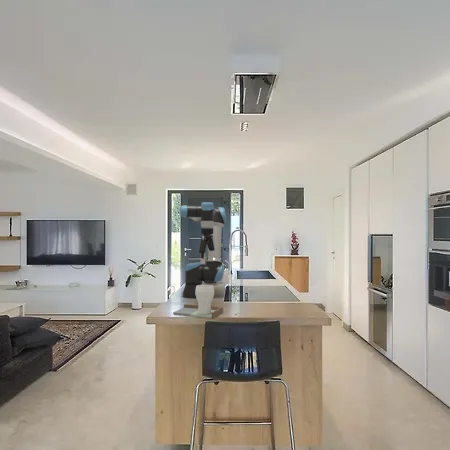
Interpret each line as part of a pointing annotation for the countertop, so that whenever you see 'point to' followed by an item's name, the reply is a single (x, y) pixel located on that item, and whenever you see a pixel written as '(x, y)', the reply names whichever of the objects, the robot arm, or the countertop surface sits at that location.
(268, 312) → the countertop surface
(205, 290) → the cup
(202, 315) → the rail board
